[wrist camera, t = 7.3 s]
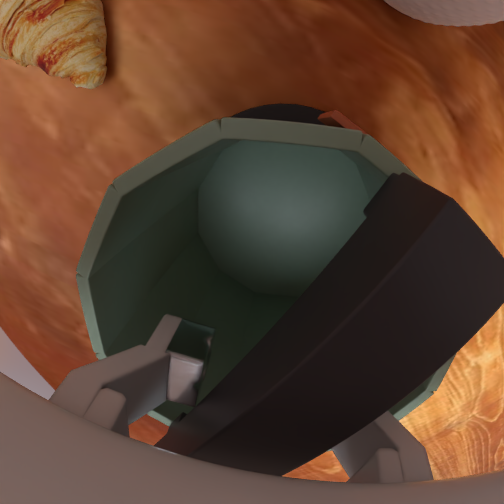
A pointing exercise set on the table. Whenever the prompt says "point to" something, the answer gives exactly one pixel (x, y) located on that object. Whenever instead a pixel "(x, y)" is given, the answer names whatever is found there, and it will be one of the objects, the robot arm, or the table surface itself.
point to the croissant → (56, 38)
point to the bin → (288, 283)
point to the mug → (452, 11)
